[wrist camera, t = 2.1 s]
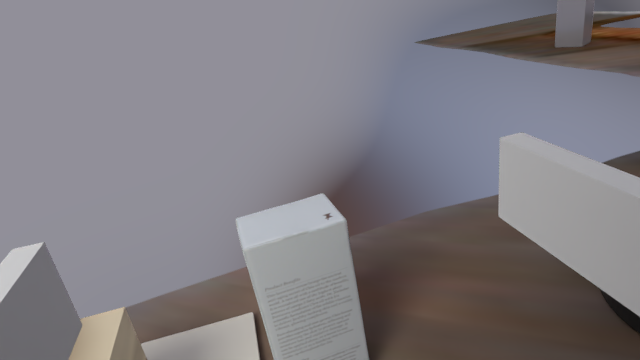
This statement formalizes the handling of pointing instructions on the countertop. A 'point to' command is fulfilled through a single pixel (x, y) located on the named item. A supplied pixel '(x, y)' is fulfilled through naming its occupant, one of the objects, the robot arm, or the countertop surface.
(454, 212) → the countertop surface
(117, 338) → the upper block
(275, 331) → the skincare box
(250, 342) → the plate
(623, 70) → the countertop surface
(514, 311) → the countertop surface
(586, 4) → the soap dispenser
